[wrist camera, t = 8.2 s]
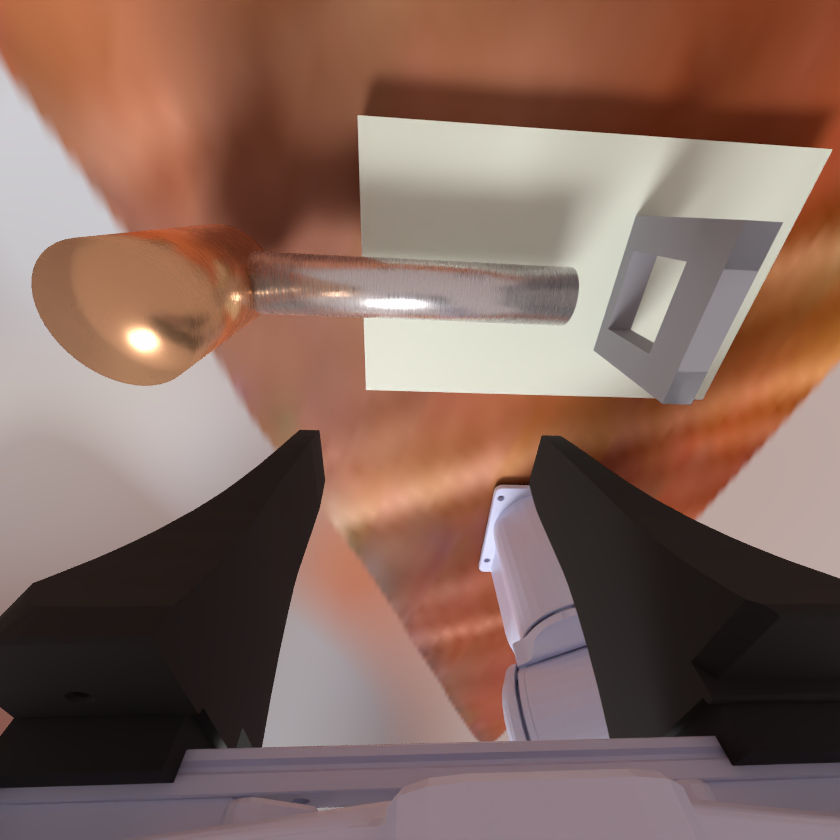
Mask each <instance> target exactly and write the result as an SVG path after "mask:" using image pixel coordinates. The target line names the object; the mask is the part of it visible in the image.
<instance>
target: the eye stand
mask: <svg viewBox="0 0 840 840" xmlns="http://www.w3.org/2000/svg"><path fill="white" fill-rule="evenodd" d="M358 147H359V179H360V211H361V242H362V257H380V258H400V259H420V260H440V261H460V262H480V263H500V264H520V265H540V266H560V267H573V268H574V269H575V270H576V271H577V274H578V278H579V294H578V300H577V304H576V307H575V310H574V312H573V315H572V317H571V318H570V320H569V321H568V322H567V323H566V324H565V325H563V326H555V325H531V324H506V323H481V322H457V321H432V320H407V319H383V318H364V338H365V370H366V390H391V391H425V392H459V393H493V394H527V395H561V396H595V397H629V398H656V399H657V400H658V401H659V402H661V403H662V404H687V405H691V404H692V402H693V400H694V399H697V400H703V398H704V396H705V394H706V392H707V390H708V388H709V386H710V384H711V383H712V381H713V379H714V377H715V375H716V373H717V371H718V369H719V367H720V365H721V363H722V361H723V359H724V358H725V356H726V354H727V352H728V350H729V348H730V346H731V344H732V342H733V340H734V338H735V336H736V334H737V332H738V331H739V329H740V327H741V325H742V323H743V321H744V319H745V317H746V315H747V313H748V311H749V309H750V307H751V306H752V304H753V302H754V300H755V298H756V296H757V294H758V292H759V290H760V288H761V286H762V284H763V282H764V281H765V279H766V277H767V275H768V273H769V271H770V269H771V267H772V265H773V263H774V261H775V259H776V257H777V256H778V254H779V252H780V250H781V248H782V246H783V244H784V242H785V240H786V238H787V236H788V234H789V232H790V231H791V229H792V227H793V225H794V223H795V221H796V219H797V217H798V215H799V213H800V211H801V209H802V207H803V205H804V204H805V202H806V200H807V198H808V196H809V194H810V192H811V190H812V188H813V186H814V184H815V182H816V180H817V179H818V177H819V175H820V173H821V171H822V169H823V167H824V165H825V163H826V161H827V159H828V157H829V155H830V154H831V152H832V150H833V149H821V148H808V147H794V146H780V145H766V144H752V143H738V142H724V141H710V140H696V139H682V138H668V137H654V136H641V135H627V134H613V133H599V132H585V131H571V130H557V129H543V128H529V127H515V126H501V125H487V124H473V123H460V122H446V121H432V120H418V119H404V118H390V117H376V116H362V115H358Z"/></svg>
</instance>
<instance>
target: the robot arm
mask: <svg viewBox="0 0 840 840" xmlns="http://www.w3.org/2000/svg"><path fill="white" fill-rule="evenodd" d="M324 483H325V475H324V467H323V458H322V449H321V440H320V432H319V430H299V431H298V432H297V433H296V434H294V435H293V436H292V437H291V438H290V439H289V440H288V441H286V442H285V443H284V444H283V445H282V446H281V447H280V448H278V449H277V450H276V451H275V452H274V453H273V454H271V455H270V456H269V457H268V458H267V459H265V460H264V461H263V462H262V463H261V464H260V465H258V466H257V467H256V468H254V469H253V470H252V471H250V472H249V473H248V474H246V475H245V476H244V477H243V478H241V479H240V480H239V481H237V482H236V483H235V484H233V485H232V486H230V487H229V488H228V489H226V490H225V491H224V492H222V493H220V494H219V495H217V496H216V497H214V498H213V499H211V500H209V501H208V502H206V503H205V504H203V505H201V506H200V507H198V508H196V509H195V510H194V511H191V512H190V513H188V514H186V515H184V516H182V517H180V518H178V519H177V520H175V521H173V522H171V523H169V524H167V525H166V526H164V527H162V528H160V529H158V530H156V531H154V532H152V533H150V534H148V535H146V536H144V537H142V538H140V539H138V540H136V541H134V542H132V543H129V544H127V545H125V546H123V547H121V548H118V549H117V550H114V551H112V552H110V553H107V554H105V555H103V556H100V557H98V558H96V559H93V560H91V561H88V562H86V563H83V564H81V565H78V566H76V567H73V568H71V569H68V570H66V571H63V572H61V573H58V574H56V575H53V576H51V577H48V578H46V579H43V580H40V581H38V582H35V583H33V584H32V585H31V586H30V587H29V588H28V589H27V590H26V591H25V592H24V593H23V594H22V595H21V596H20V597H19V598H18V599H17V600H16V601H15V602H14V603H13V604H12V605H11V606H10V607H9V608H8V609H7V610H6V611H5V612H4V613H3V614H2V615H1V616H0V707H1V708H2V709H3V710H5V711H6V712H7V713H9V714H10V715H11V716H12V717H14V719H13V720H12V722H11V723H10V724H9V725H8V727H7V728H6V730H5V731H4V732H3V734H2V735H1V736H0V840H840V578H837V577H834V576H831V575H828V574H825V573H823V572H820V571H817V570H814V569H811V568H808V567H805V566H802V565H800V564H797V563H794V562H791V561H788V560H786V559H783V558H780V557H778V556H775V555H773V554H770V553H768V552H765V551H763V550H760V549H758V548H755V547H753V546H750V545H748V544H746V543H743V542H741V541H739V540H736V539H734V538H732V537H729V536H727V535H725V534H723V533H721V532H719V531H716V530H714V529H712V528H710V527H708V526H706V525H703V524H701V523H699V522H697V521H695V520H693V519H691V518H689V517H687V516H685V515H683V514H682V513H680V512H678V511H676V510H674V509H672V508H671V507H669V506H667V505H665V504H663V503H661V502H660V501H658V500H656V499H654V498H653V497H651V496H649V495H648V494H646V493H644V492H643V491H641V490H640V489H638V488H636V487H635V486H633V485H632V484H630V483H628V482H627V481H625V480H624V479H622V478H621V477H619V476H618V475H616V474H615V473H613V472H612V471H611V470H609V469H608V468H606V467H605V466H603V465H602V464H600V463H599V462H598V461H596V460H595V459H593V458H592V457H591V456H589V455H588V454H586V453H585V452H584V451H582V450H581V449H579V448H578V447H576V446H575V445H574V444H572V443H571V442H569V441H568V440H566V439H564V438H563V437H561V436H542V437H541V440H540V444H539V448H538V452H537V455H536V459H535V463H534V466H533V470H532V474H531V477H530V481H529V485H499V486H497V487H496V488H495V490H494V494H493V499H492V503H491V508H490V513H489V518H488V523H487V527H486V532H485V537H484V542H483V546H482V551H481V556H480V561H479V569H480V570H481V571H484V572H491V573H492V577H493V582H494V586H495V590H496V594H497V599H498V603H499V607H500V612H501V616H502V620H503V624H504V629H505V633H506V637H507V640H508V642H509V645H510V647H511V648H512V650H513V652H514V653H515V657H516V662H517V664H513V665H511V666H509V667H508V669H507V671H506V675H505V681H504V684H503V690H502V703H503V712H504V718H505V724H506V728H507V733H508V737H509V741H498V742H461V743H460V742H459V743H422V744H421V743H420V744H384V745H383V744H381V745H342V746H305V747H304V746H303V747H264V748H262V744H263V738H264V732H265V727H266V721H267V715H268V710H269V704H270V699H271V693H272V687H273V683H274V678H275V673H276V667H277V662H278V657H279V652H280V647H281V643H282V638H283V633H284V629H285V624H286V619H287V615H288V610H289V606H290V602H291V597H292V593H293V589H294V585H295V581H296V578H297V574H298V571H299V568H300V565H301V562H302V559H303V556H304V553H305V550H306V547H307V544H308V541H309V538H310V535H311V533H312V530H313V526H314V523H315V520H316V518H317V515H318V511H319V508H320V504H321V499H322V494H323V489H324ZM499 496H502V497H499ZM322 807H323V808H324V807H344V808H338V809H331V810H324V811H318V810H317V808H322Z"/></svg>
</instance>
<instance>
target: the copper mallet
mask: <svg viewBox="0 0 840 840" xmlns="http://www.w3.org/2000/svg"><path fill="white" fill-rule="evenodd" d="M32 293H33V298H34V302H35V305H36V308H37V310H38V313H39V315H40V317H41V319H42V321H43V322H44V324H45V326H46V327H47V329H48V330H49V332H50V333H51V334H52V336H53V337H54V338H55V339H56V340H57V342H58V343H59V344H60V345H61V346H62V347H63V348H64V349H65V350H66V351H67V352H68V353H69V354H71V355H72V356H73V357H74V358H75V359H76V360H78V361H79V362H81V363H82V364H84V365H85V366H86V367H88V368H90V369H92V370H93V371H95V372H97V373H99V374H101V375H103V376H105V377H108V378H110V379H113V380H116V381H119V382H122V383H127V384H133V385H142V386H149V385H157V384H162V383H165V382H168V381H171V380H173V379H175V378H176V377H178V376H179V375H181V374H182V373H183V372H185V371H186V370H187V369H189V368H190V367H191V366H193V365H194V364H195V363H196V362H198V361H199V360H201V359H202V358H203V357H205V356H206V355H207V354H209V353H210V352H211V351H212V350H214V349H215V348H216V347H218V346H219V345H220V344H222V343H223V342H224V341H226V340H227V339H228V338H230V337H231V336H232V335H234V334H235V333H236V332H238V331H239V330H240V329H242V328H243V327H244V326H246V325H247V324H248V323H250V322H251V321H252V320H254V319H255V318H256V317H258V316H259V315H260V314H284V315H309V316H333V317H358V318H383V319H407V320H432V321H457V322H481V323H506V324H531V325H555V326H563V325H565V324H566V323H567V322H568V321H569V320H570V318H571V317H572V315H573V312H574V310H575V307H576V304H577V300H578V294H579V278H578V274H577V271H576V270H575V269H574V268H573V267H560V266H540V265H520V264H500V263H480V262H460V261H440V260H420V259H400V258H380V257H360V256H340V255H320V254H300V253H280V252H264V251H263V249H262V248H261V247H260V246H259V245H258V244H257V242H256V241H254V240H253V239H252V238H251V237H250V236H248V235H247V234H245V233H244V232H242V231H240V230H238V229H236V228H234V227H231V226H227V225H221V224H210V225H199V226H189V227H179V228H169V229H159V230H149V231H139V232H129V233H118V234H108V235H98V236H88V237H78V238H71V239H65V240H62V241H59V242H57V243H55V244H54V245H51V246H50V247H48V248H47V249H46V250H45V251H44V252H43V253H42V254H41V255H40V257H39V258H38V259H37V261H36V264H35V266H34V268H33V273H32Z"/></svg>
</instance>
